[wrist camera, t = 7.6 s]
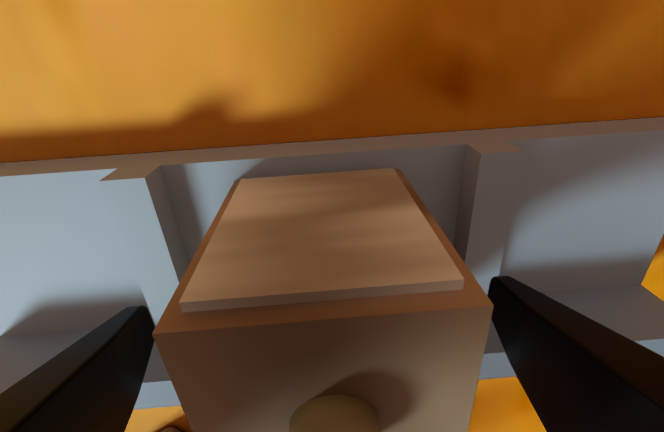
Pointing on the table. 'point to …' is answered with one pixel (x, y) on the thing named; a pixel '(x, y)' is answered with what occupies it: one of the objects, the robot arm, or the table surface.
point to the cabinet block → (325, 312)
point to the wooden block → (170, 430)
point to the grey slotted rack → (324, 157)
